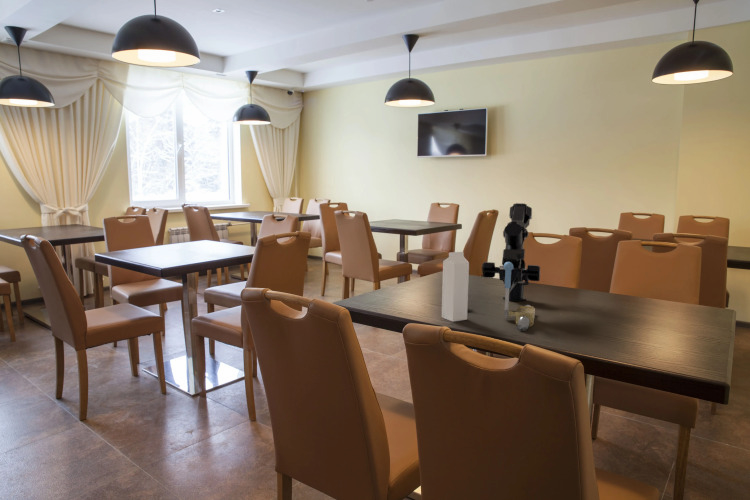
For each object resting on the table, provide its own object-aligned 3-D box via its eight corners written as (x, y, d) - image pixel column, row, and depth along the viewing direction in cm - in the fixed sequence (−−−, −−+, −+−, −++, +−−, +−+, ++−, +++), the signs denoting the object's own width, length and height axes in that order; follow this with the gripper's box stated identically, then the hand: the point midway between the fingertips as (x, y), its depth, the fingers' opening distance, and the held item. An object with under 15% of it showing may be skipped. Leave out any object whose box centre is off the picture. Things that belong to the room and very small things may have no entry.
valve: (512, 312, 172) (512, 300, 172) (535, 314, 170) (536, 302, 169) (505, 329, 152) (505, 315, 151) (531, 332, 149) (532, 318, 149)
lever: (502, 314, 164) (504, 260, 162) (511, 315, 163) (514, 261, 161) (500, 316, 161) (503, 262, 159) (510, 317, 160) (513, 262, 158)
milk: (467, 319, 163) (470, 252, 160) (452, 322, 160) (455, 253, 157) (455, 315, 168) (458, 250, 165) (440, 317, 165) (443, 251, 162)
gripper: (483, 238, 170) (477, 275, 161) (541, 241, 163) (538, 280, 155) (486, 258, 178) (480, 294, 169) (541, 261, 172) (537, 299, 163)
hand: (508, 292), depth 164 cm, fingers closed
